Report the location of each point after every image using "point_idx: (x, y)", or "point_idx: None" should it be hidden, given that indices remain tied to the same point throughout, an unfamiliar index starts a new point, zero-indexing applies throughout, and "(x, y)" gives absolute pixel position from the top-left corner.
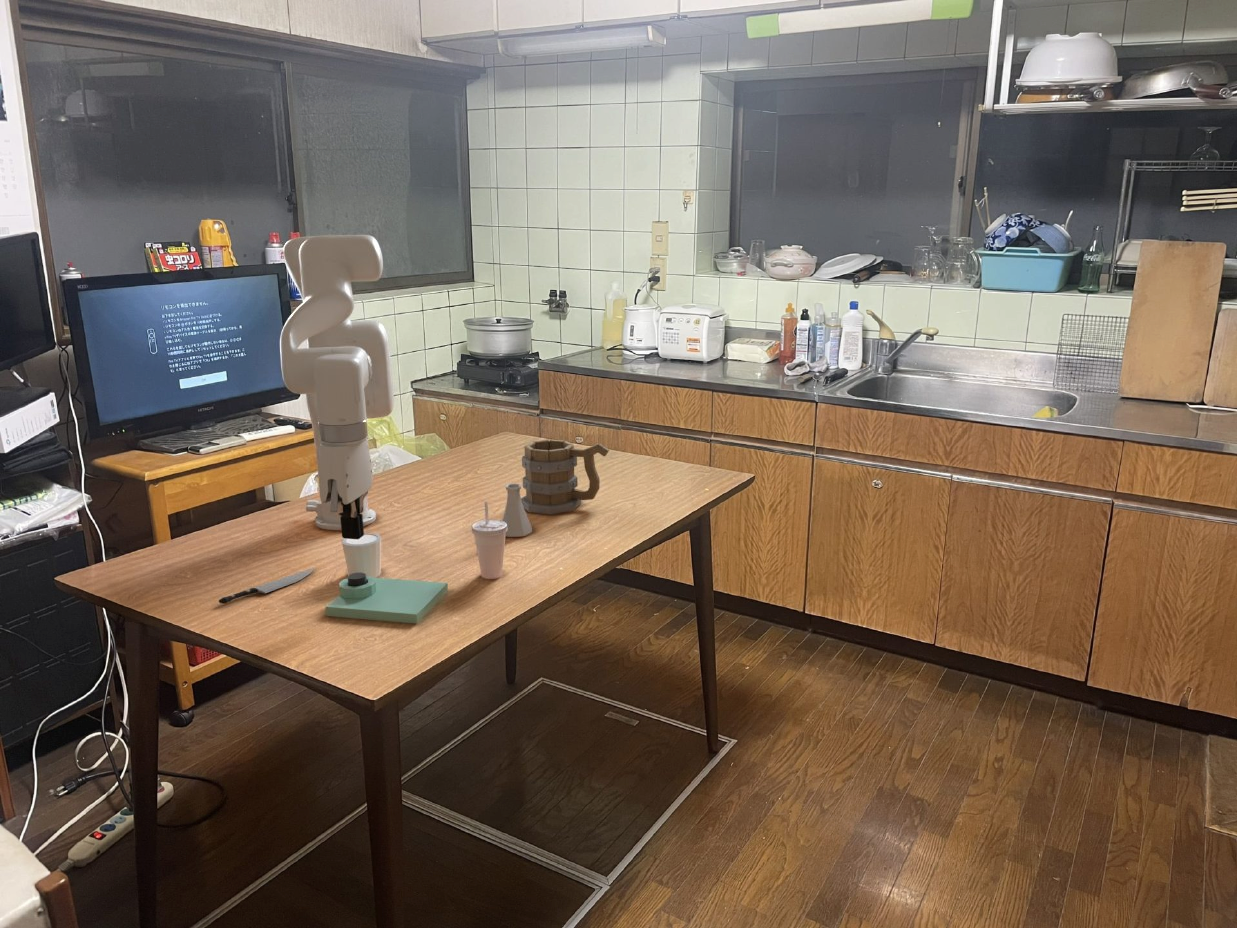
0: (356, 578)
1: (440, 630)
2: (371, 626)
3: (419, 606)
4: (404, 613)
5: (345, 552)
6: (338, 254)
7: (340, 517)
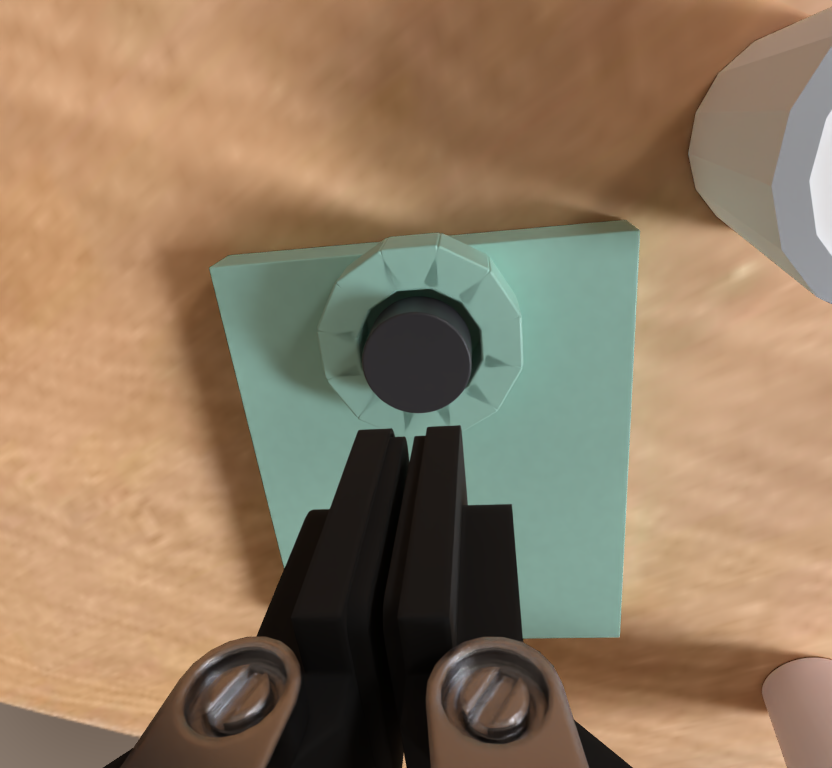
0: (379, 384)
1: None
2: (229, 482)
3: None
4: None
5: (794, 55)
6: None
7: (299, 596)
